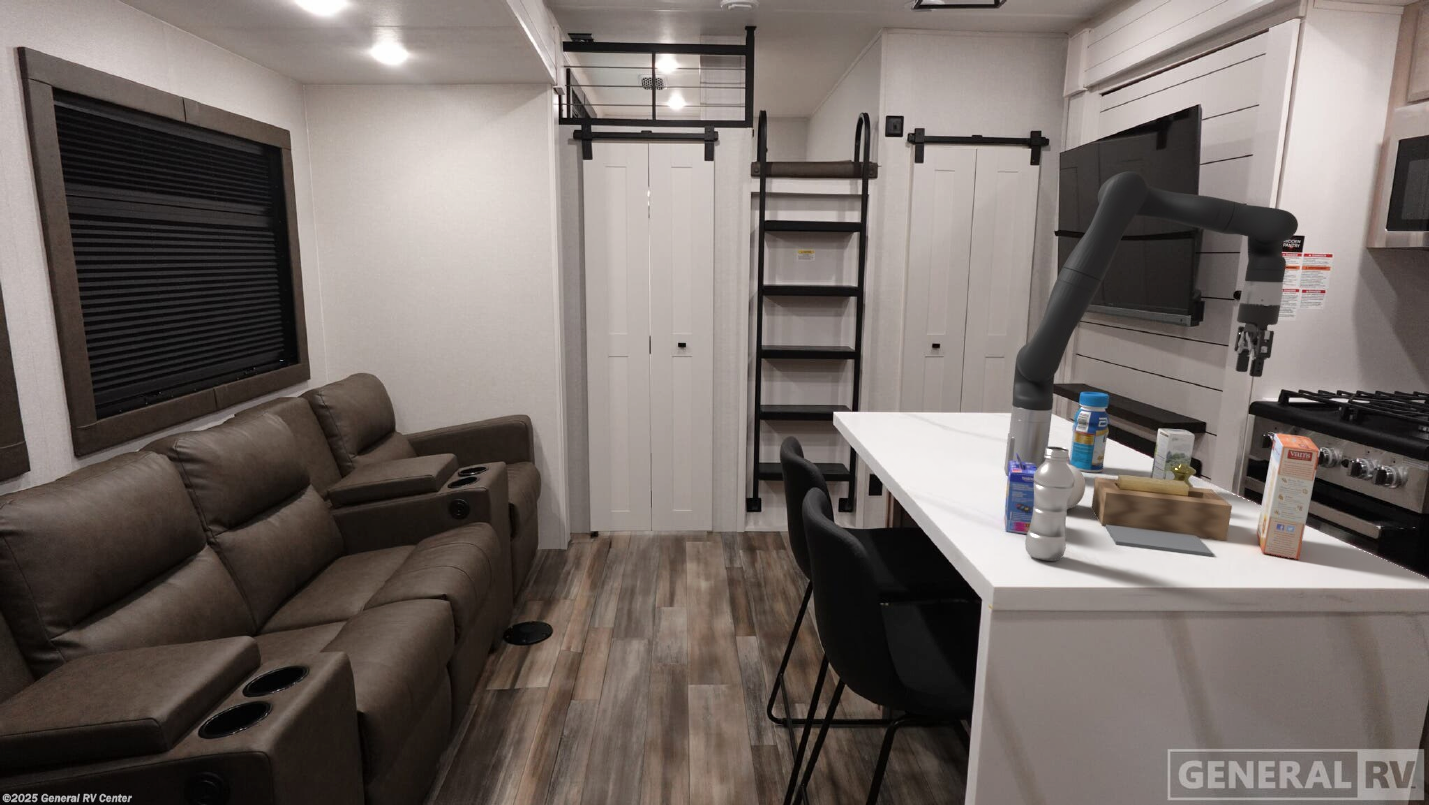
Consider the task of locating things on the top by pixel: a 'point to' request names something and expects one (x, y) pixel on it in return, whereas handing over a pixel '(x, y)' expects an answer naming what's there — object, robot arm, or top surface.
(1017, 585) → the top surface
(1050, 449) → the plastic bottle
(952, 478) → the top surface
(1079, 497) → the ornament
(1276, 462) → the cracker box
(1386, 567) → the top surface
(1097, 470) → the beverage bottle
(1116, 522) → the pocket board
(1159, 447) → the syrup box
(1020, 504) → the ink cartridge box
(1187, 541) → the slate mat
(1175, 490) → the pale yellow rectangular block
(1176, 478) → the gold spiky piece
